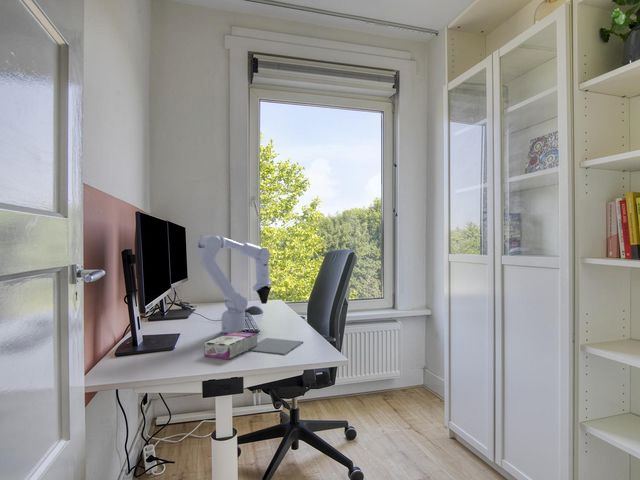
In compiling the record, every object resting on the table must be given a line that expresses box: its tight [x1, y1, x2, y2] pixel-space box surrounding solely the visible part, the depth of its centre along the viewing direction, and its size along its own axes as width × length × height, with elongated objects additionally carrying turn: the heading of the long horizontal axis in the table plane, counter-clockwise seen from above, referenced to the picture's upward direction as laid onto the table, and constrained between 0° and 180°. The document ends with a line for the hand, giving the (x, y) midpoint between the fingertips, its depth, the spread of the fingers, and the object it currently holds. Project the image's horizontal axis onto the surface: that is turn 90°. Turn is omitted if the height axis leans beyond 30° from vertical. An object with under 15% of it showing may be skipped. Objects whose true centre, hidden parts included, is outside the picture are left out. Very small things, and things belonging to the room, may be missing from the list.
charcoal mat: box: [247, 337, 304, 356], centre depth 140 cm, size 16×16×1 cm
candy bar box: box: [203, 331, 258, 360], centre depth 134 cm, size 11×5×16 cm
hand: (264, 303), depth 171 cm, fingers closed
